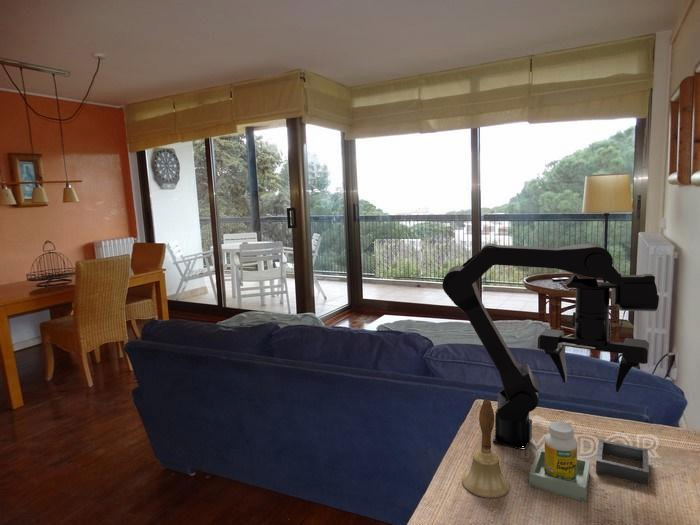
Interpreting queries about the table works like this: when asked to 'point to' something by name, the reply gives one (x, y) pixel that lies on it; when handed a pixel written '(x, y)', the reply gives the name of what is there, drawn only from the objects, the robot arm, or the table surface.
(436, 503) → the table surface
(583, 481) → the tray
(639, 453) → the collar
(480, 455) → the hand bell
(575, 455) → the supplement bottle
